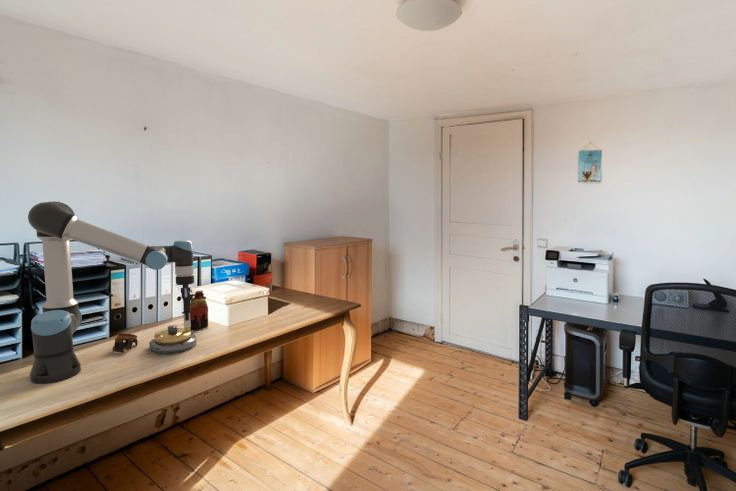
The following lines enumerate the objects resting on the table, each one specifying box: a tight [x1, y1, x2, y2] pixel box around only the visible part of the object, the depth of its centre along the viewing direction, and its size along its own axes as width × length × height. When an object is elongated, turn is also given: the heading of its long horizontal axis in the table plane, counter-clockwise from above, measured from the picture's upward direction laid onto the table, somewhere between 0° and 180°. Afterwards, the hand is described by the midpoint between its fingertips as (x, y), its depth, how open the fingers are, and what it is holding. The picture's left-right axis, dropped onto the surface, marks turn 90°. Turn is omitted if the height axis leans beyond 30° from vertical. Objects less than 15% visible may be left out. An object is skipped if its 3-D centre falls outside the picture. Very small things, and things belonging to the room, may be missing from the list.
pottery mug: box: [112, 332, 139, 354], centre depth 178 cm, size 12×10×8 cm
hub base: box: [149, 324, 197, 355], centre depth 182 cm, size 19×19×9 cm
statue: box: [189, 290, 209, 332], centre depth 206 cm, size 12×8×20 cm, turn 124°
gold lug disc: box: [153, 327, 192, 345], centre depth 182 cm, size 15×15×9 cm
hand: (187, 326), depth 183 cm, fingers closed
